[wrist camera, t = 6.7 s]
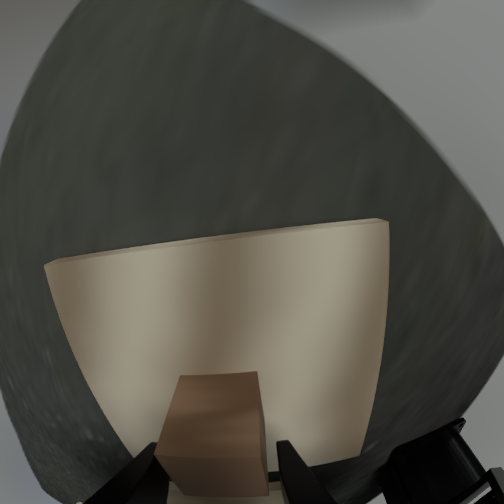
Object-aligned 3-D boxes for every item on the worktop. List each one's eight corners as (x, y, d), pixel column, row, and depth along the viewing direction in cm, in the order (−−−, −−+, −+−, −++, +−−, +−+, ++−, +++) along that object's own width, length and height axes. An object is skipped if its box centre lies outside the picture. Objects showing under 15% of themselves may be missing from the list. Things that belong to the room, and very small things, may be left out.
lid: (367, 216, 10) (469, 247, 4) (351, 434, 13) (377, 507, 7) (67, 254, 10) (-25, 299, 5) (147, 447, 13) (125, 514, 8)
